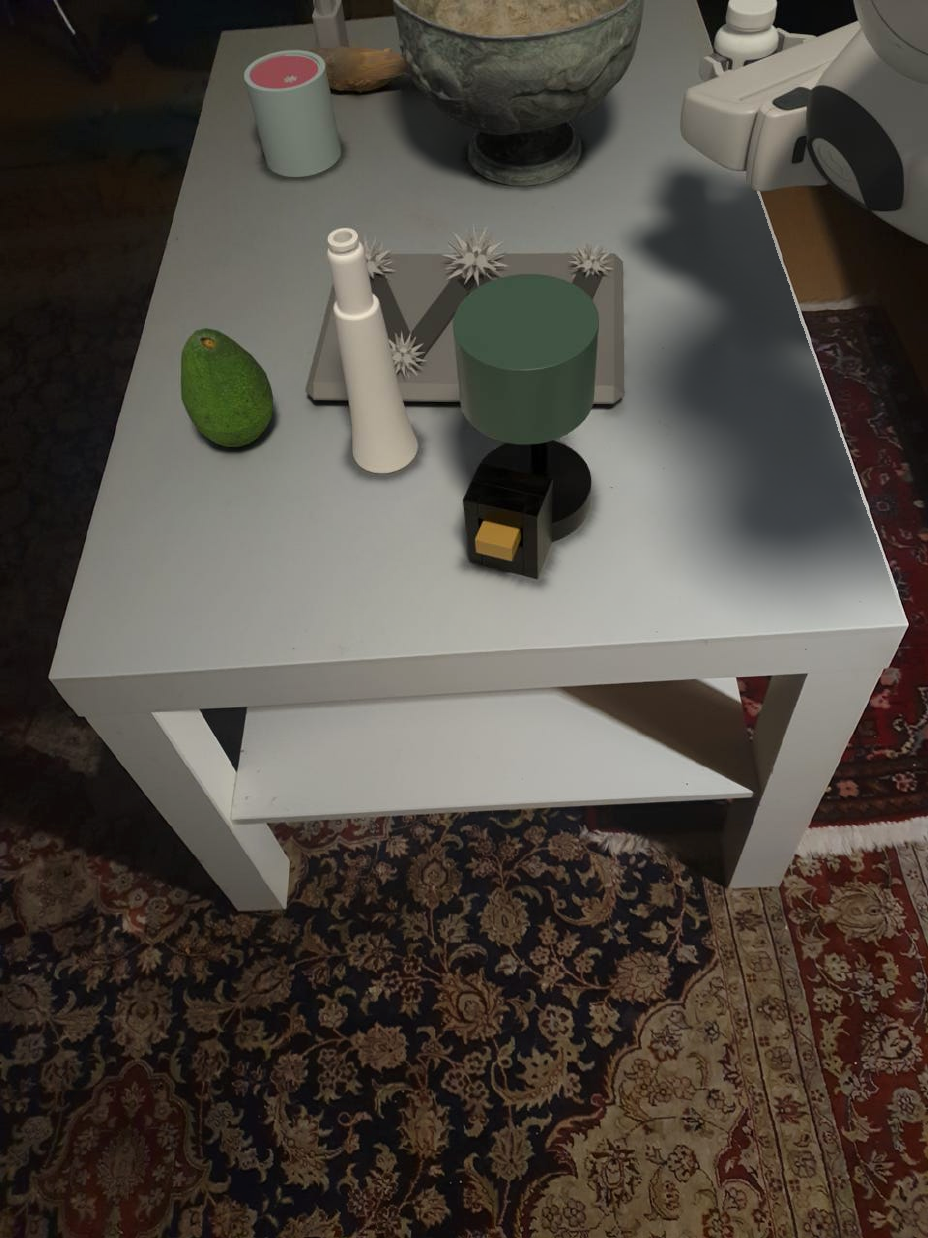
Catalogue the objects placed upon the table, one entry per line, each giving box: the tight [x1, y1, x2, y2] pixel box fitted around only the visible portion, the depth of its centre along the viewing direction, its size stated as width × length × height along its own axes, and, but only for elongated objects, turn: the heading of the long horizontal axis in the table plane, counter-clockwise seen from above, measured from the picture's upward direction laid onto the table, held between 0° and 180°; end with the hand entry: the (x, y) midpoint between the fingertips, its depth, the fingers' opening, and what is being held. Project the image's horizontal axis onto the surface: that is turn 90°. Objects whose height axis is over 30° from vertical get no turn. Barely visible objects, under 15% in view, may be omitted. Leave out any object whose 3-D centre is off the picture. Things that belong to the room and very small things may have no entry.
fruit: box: [180, 327, 274, 448], centre depth 82 cm, size 8×8×12 cm
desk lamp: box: [453, 274, 599, 580], centre depth 71 cm, size 13×10×20 cm
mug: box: [243, 49, 342, 178], centre depth 110 cm, size 14×9×10 cm
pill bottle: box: [712, 0, 779, 71], centre depth 81 cm, size 5×5×10 cm
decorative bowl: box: [392, 0, 645, 187], centre depth 101 cm, size 26×26×20 cm
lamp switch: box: [475, 519, 521, 561], centre depth 72 cm, size 2×3×2 cm
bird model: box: [307, 45, 410, 94], centre depth 118 cm, size 6×21×5 cm, turn 88°
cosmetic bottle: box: [326, 227, 419, 474], centre depth 75 cm, size 6×6×22 cm
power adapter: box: [311, 0, 350, 48], centre depth 119 cm, size 3×5×12 cm, turn 174°
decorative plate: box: [305, 223, 625, 405], centre depth 89 cm, size 30×22×7 cm
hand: (736, 51), depth 81 cm, fingers closed on pill bottle, 5 cm apart
